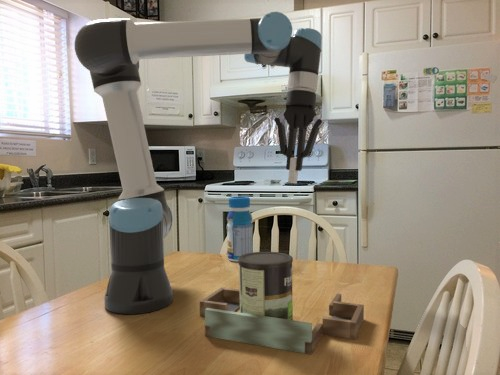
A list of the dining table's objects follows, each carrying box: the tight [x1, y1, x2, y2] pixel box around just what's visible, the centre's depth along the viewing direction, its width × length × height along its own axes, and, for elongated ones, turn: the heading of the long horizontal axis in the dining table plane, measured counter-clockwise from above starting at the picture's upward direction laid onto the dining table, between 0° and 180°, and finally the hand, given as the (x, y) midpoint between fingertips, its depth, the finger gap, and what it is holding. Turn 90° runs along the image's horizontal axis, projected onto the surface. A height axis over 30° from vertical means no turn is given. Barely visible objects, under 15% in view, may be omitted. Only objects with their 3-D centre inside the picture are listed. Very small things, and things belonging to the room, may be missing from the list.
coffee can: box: [237, 251, 294, 320], centre depth 80 cm, size 10×10×14 cm
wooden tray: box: [199, 287, 365, 355], centre depth 86 cm, size 32×26×5 cm
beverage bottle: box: [226, 196, 254, 263], centre depth 136 cm, size 8×8×20 cm
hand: (292, 183), depth 109 cm, fingers closed
